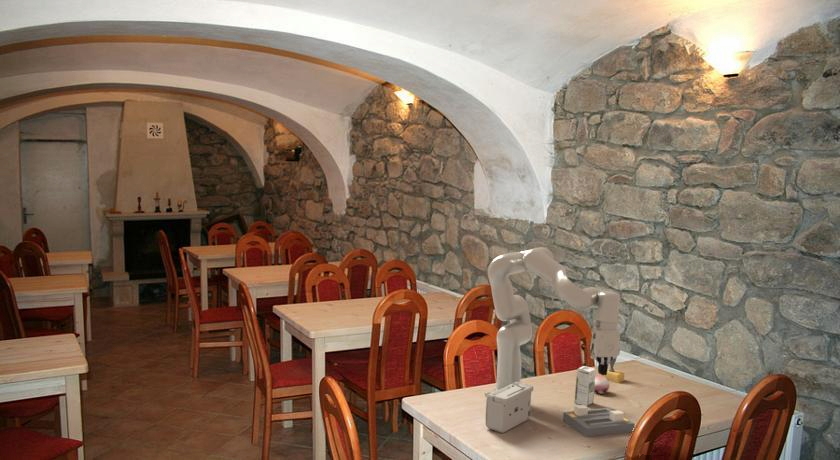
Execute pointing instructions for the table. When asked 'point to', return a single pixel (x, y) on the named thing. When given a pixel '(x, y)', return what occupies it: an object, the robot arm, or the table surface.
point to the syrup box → (585, 385)
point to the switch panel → (597, 423)
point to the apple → (601, 384)
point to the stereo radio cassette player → (508, 406)
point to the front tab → (616, 415)
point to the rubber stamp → (614, 373)
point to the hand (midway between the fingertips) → (602, 373)
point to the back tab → (580, 410)
